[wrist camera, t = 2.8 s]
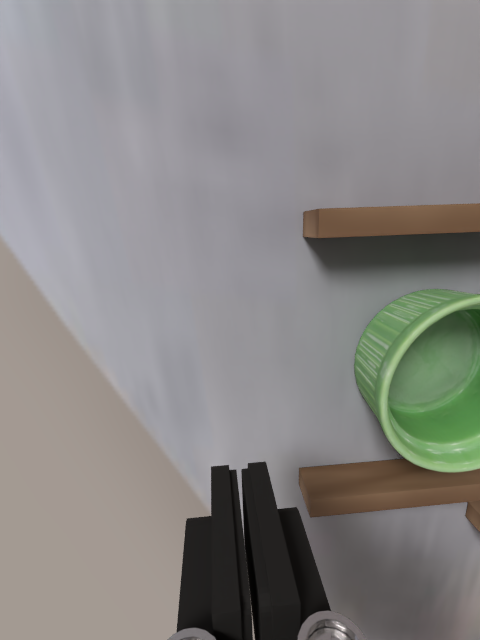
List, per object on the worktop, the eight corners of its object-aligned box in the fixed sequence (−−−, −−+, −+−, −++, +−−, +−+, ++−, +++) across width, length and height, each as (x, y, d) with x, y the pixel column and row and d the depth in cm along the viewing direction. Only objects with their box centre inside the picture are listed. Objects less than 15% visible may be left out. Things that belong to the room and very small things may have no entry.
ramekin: (313, 346, 18) (343, 381, 14) (449, 244, 17) (526, 250, 13) (391, 448, 21) (437, 504, 16) (515, 364, 20) (597, 401, 16)
